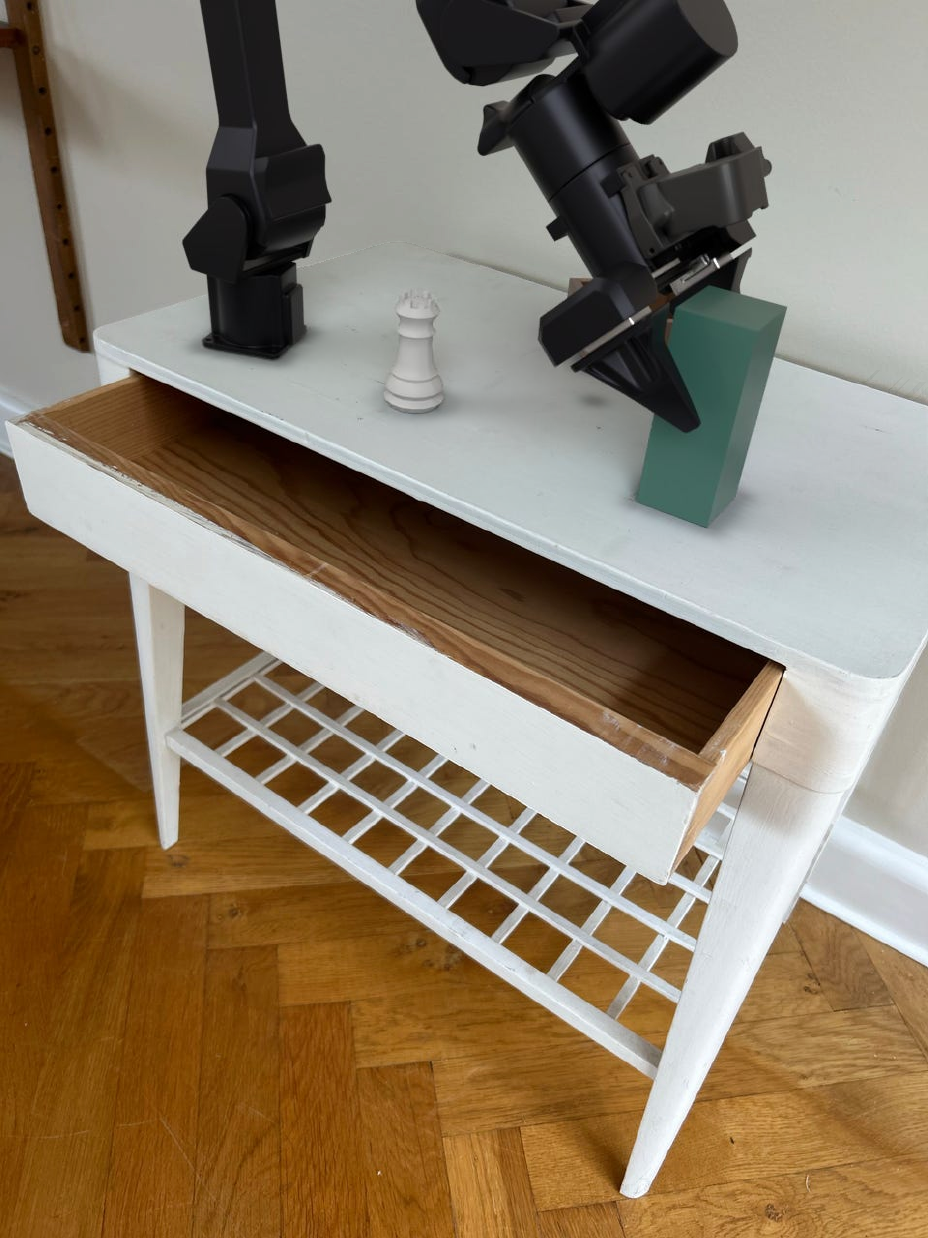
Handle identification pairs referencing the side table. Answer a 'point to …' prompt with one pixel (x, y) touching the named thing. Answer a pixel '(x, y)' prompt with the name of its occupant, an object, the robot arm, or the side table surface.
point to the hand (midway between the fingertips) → (723, 402)
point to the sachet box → (711, 402)
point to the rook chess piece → (415, 356)
